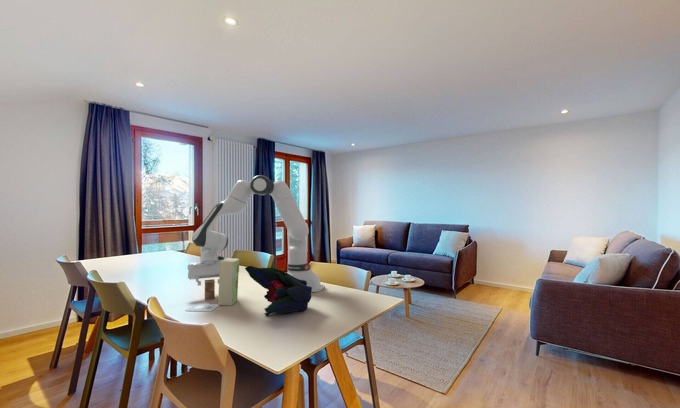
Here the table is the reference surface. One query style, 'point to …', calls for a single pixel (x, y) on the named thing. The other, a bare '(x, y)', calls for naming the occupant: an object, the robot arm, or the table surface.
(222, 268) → the tall cream box
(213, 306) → the page
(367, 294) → the table surface
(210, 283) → the walnut block
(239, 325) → the table surface
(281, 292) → the decorative plant
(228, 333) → the table surface
